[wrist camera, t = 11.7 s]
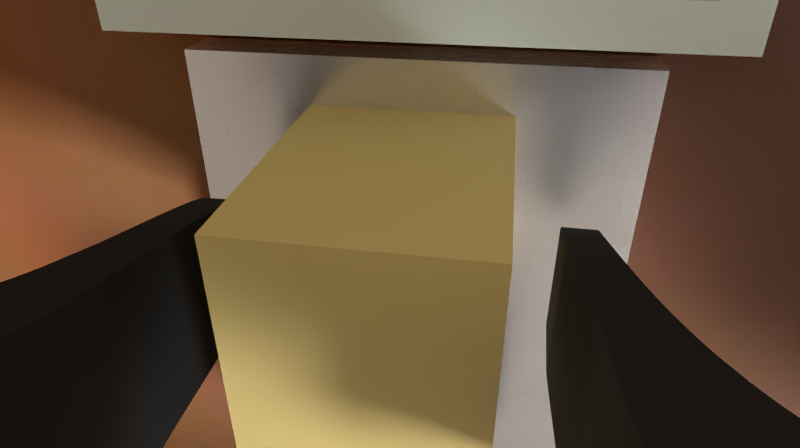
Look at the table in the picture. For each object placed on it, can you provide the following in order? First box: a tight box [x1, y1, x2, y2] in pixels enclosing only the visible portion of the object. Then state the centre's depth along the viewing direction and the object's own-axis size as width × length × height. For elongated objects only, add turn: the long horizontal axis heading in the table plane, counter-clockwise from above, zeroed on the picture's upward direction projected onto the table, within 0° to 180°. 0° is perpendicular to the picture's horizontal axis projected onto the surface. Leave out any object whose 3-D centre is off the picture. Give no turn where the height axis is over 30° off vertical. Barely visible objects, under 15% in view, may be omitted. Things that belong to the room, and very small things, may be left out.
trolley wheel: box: [184, 37, 670, 448], centre depth 13 cm, size 9×15×7 cm, turn 0°
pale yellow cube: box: [194, 105, 516, 448], centre depth 11 cm, size 4×4×5 cm
